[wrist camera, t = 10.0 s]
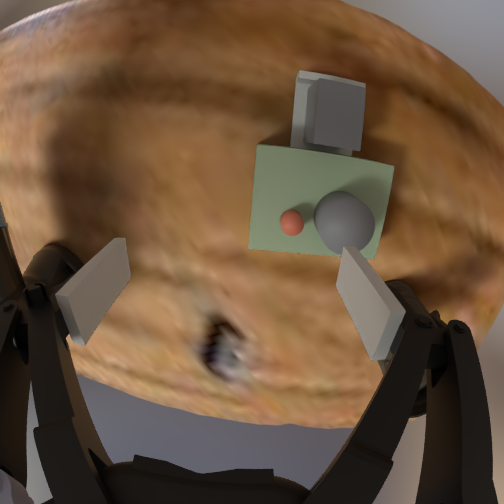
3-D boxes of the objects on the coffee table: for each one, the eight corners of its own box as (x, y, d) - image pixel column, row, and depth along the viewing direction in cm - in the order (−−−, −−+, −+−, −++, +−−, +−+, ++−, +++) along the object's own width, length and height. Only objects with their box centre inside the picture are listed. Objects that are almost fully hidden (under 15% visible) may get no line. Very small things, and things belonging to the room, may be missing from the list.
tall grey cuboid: (303, 141, 31) (313, 143, 25) (307, 88, 28) (319, 77, 22) (341, 147, 31) (360, 151, 25) (346, 96, 28) (366, 87, 22)
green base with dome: (250, 233, 37) (246, 264, 29) (263, 71, 28) (264, 51, 20) (362, 244, 37) (386, 275, 29) (384, 94, 28) (419, 86, 20)
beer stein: (352, 339, 44) (393, 431, 26) (352, 289, 40) (410, 387, 21) (424, 315, 43) (479, 388, 25) (431, 266, 39) (504, 336, 21)
